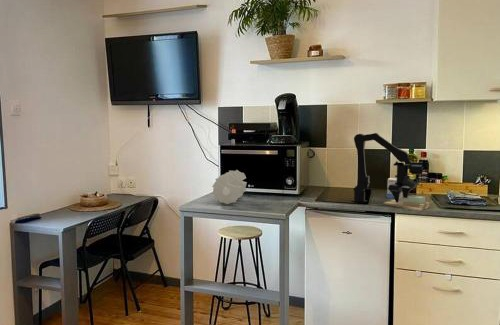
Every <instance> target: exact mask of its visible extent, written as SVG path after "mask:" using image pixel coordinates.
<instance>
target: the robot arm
mask: <svg viewBox="0 0 500 325" xmlns="http://www.w3.org/2000/svg"><path fill="white" fill-rule="evenodd" d="M369 141H370V142H371V141H375V142H376V143H377V144H379V145H380V146H381V147H383V149H386V150H387V151H389V153H391V154H392V155H393V157H394V158H396V161H395V162H394V163H393V166H396V175H394V178H397V181H396V183H395V184H392V185H389V186H388V190H390V191H391V193H392V195H393V197H394V198H393V200H395V201H396V202H397V203H398V201H399V194H400V193H401V192H402V197H403V198H408V196H409V194H410V192H411V191H412V190H413V189H417V187H418V186H419V185H420V183H419V179H418V178H413V179H412V178H411V177H410V175H409V174H408V172H409V173H410V174H411V175H423V162H422V161H418V162H417V161H416V162H415V161H412V160H411V159H410V158H409V157H410V156H409V153H408V152H407V151H406V150H404V149H401V148H399V147H397V146H395V145H393V144H392V143H391V142H390V141H388V140H387V139H386V138H384V137H382V136H381V135H380V134H379V133H378V132H374V133H368V134H363V133H358V134H355V135H354V137H353V142H354V146H355V148H356V152H357V164H358V165H357V166H358V177H357V185H356V186H354V187H353V191H354V195H353V200H351V202H353V203H359V204H364V203H366V202H368V200H366V190H367V188H368V187H369V186H370V183H371V181H370V175H367V169H366V167H367V166H366V156H365V155H366V154H365V149H366V148H365V147H366V146H365V145H366V142H369ZM401 190H402V191H401Z"/></svg>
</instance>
